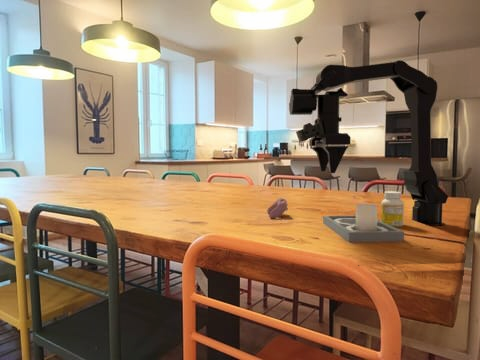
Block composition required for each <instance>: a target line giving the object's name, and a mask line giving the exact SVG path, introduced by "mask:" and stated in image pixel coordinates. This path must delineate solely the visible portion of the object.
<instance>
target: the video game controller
mask: <svg viewBox="0 0 480 360" xmlns="http://www.w3.org/2000/svg"><path fill="white" fill-rule="evenodd" d="M287 211H288V202H287V199H286V198H284V197H279V198H277V199H276V200H275V202H274V203H273V204H272V205H270V206H268V207H267V214H268V217H269V218H270V219H273V218H274V219H277V218H281V216H282V215H284V213H285V212H287Z"/></svg>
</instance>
